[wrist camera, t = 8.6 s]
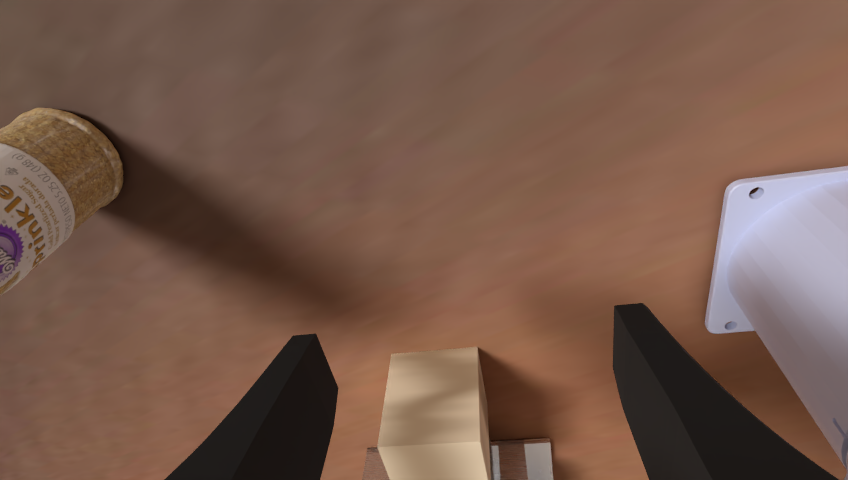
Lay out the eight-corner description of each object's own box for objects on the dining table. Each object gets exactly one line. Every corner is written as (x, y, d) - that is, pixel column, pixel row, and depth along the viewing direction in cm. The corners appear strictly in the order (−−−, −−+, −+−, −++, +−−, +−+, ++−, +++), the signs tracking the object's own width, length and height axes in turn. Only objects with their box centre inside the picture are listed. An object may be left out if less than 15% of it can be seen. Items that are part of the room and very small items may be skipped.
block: (477, 346, 27) (480, 441, 22) (487, 403, 29) (491, 499, 24) (391, 353, 27) (377, 447, 23) (408, 408, 30) (398, 502, 25)
